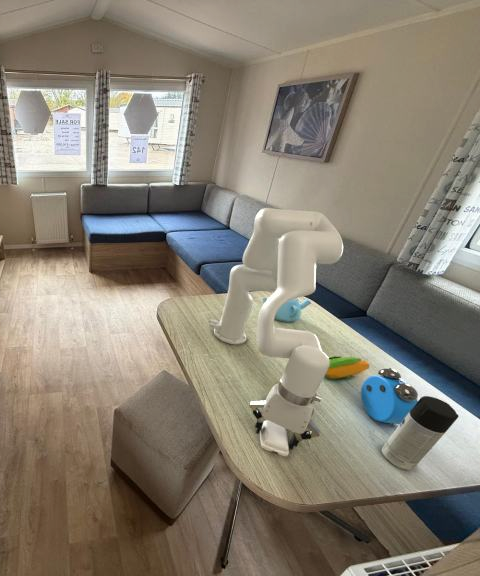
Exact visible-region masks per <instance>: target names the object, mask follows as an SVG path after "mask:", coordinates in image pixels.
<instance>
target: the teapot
mask: <svg viewBox="0 0 480 576" xmlns="http://www.w3.org/2000/svg"><path fill="white" fill-rule="evenodd" d="M267 299H268V297H262V302H263V304H264V303H265V301H266V300H267ZM311 304H312V302H311V301H310V300H308V298H307V299H305V300H304V301H303V302H301V303H300V301H299V298H295V299H292V300H290V301H288V302H286V303H284V304H283V305H282V306H281V307H280V308H279V309H278V311H277V312H276V315H275V318H274V320H276V321H279V322H283V323H293V322H295V321H298V320H299V319H300V318H301V316H302V310H303V309H305V308H306V307H308V306H309V305H311Z"/></svg>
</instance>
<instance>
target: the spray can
mask: <svg viewBox="0 0 480 576" xmlns="http://www.w3.org/2000/svg"><path fill="white" fill-rule="evenodd" d="M417 401H418V402H417V403H416V404H415V406H414V407H413V408H412V409H411V410H410V412H409V413H408V415H407V416H406V417H405V418H404V420H403V421H402V422H401V424H398V426H397V427H396V429H395V430H394V432H393V433H392V434H391V436H390V437H389V438H388V440H387V441H386V442H385V443H384V444H383V446H382V448H381V454H382V455H383V457H384V458H385V460H386V461H388V462H389V463H390V464H392V465H393V466H395V467H397V468H399V469H401V470H406V471H411V470H413V469H414V468H416V466H417V465H419V464H420V462H421V461H422V460H423V459H424V458H425V457H426V455H427V454H428V453H429V452H430V451H431V450H432V449H433V447H434V446H435V445H437V443H438V442H439V440H440V439H441V438H442V437H443V436H444V435H445V434H446V433H447V431H448V430H450V428H451V427H452V426H453V424H454V423H455V422H456V421H457V419H458V418H459V414H458V413H457V412H456V410H455V409H454V408H453V407H452V406H451V405H450V404H449V403H447V402H446V401H444V400H442V399H439V398H437V397H434V396H428V395H424V396H422V397H420V398H419V399H418V400H417Z"/></svg>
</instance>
